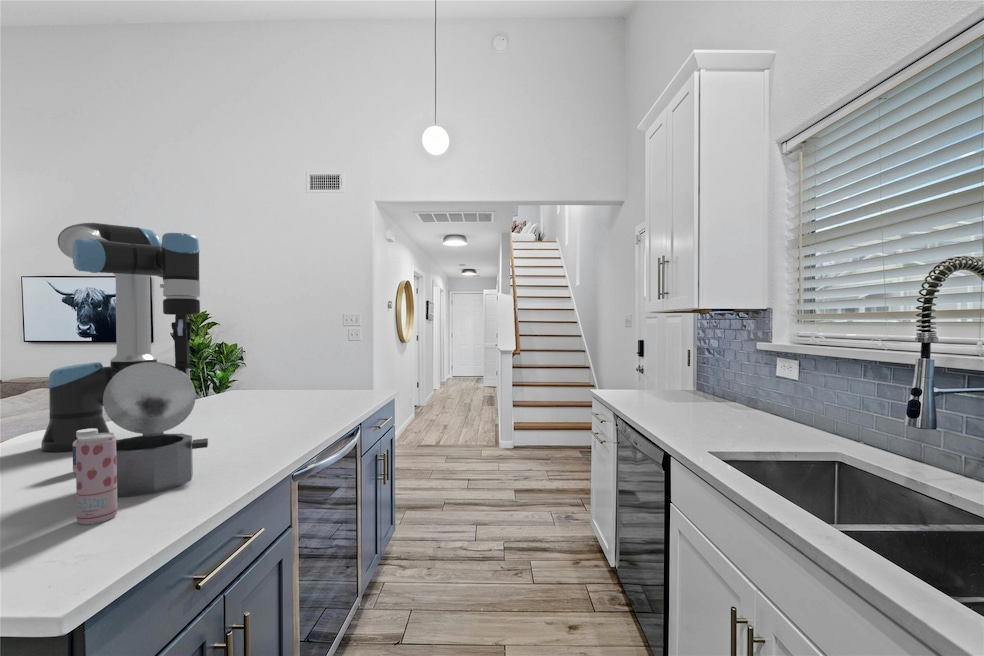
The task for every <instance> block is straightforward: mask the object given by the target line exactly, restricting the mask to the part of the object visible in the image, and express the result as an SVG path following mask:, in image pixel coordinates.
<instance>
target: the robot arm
mask: <svg viewBox="0 0 984 656" xmlns="http://www.w3.org/2000/svg"><path fill="white" fill-rule="evenodd" d="M199 243H200V242H199V238H198V237H197V236H196V235H194V234H190V233H184V232H166V233H164V234H163V235H162V237H161V240H160V238H159V236H158V234H157V233H156V232H155V231H154V230H151V229H148V228H147V229H146V228H141V227H135V226H125V225H117V224H108V223H100V222H83V223H82V222H81V223H76V224H73V225H69V226H67V227H65V228H64V229H63V230H61V232H60V233H59V234H58V237H57V246H58V248H59V250H60V251H61V252H62V253H63V255H65V256H67V258H69V259H72V264H73V267H74V269H75V270H77V271H79V272H86V273H91V274H92V273H93V274H97V273H101V274H103V273H104V274H113V275H114V277H115V321H116V322H115V323H116V324H115V326H116V327H115V328H116V329H115V333H116V334H115V335H116V338H115V339H116V341H115V342H116V354H115V356H113V358H111V359H110V365H109V366H104V365H103V364H102V362H98V361H96V362H86V363H77V364H73V365H68V366H63V367H58V368H55V369H52V370H51V372H50V373H49V377H48V385H47V388H48V391H49V392H48V393H49V398H48V400H49V404H48V405H49V406H48V407H49V408H48V409H49V422H48V424H47V428H46V429H45V431H44V432H45V433H44V435H43V437H42V440H41V451H42V452H49V453H51V452H52V453H54V452H55V453H56V452H58V453H59V452H73V442H74V441H75V440H77V439H78V438H77V437H76V431H79V430H83V429H98V433H111V432H110V429H109V427H108V425H107V423H106V421H105V419H104V415H103V410H104V405H103V395H104V391H105V388H106V387H107V385H108V383H109V381H110V380H111V379H112V378H113V377H114V376H115V375H116V374H117V373H118V372H120V371H121V370H123V369H125V368H126V367H129V366H131V365H134V364H138V363H143V362H158V358H157V357H156V356H155V355H153V353H152V336H151V335H152V330H151V329H152V325H151V322H152V321H151V320H152V319H151V277H152V276H154V277H155V276H156V277H158V278H162V283H160V285H159V288H160V289H162V296H163V297H164V298H163V300H162V313H163V315H171V316H172V315H173V316H174V315H175V318H174V319H175V321H173V322H171V329H172V340H173V342H174V360H175V361H174V362H175V363H174V367H176V368H178V369H180V370H181V371H183V372H184V373H185V374H186V375H187V376H188V377H189V378H190V379H191V375H190V374H191V373H190V370H191V369H193V367H194V366H193V364H192V365H191V360H190V359H191V358H190V356H191V355H190V353H191V351H190V345H191V344H190V343H191V342H190V341H191V339H192V329H193V322H191V321H189V315H191V316H192V315H193V316H194V315H197V316H198V315H200V313H201V300H200V299H198V298H199V297H201V282H200V251H201V249H200V244H199ZM165 297H166V298H165Z"/></svg>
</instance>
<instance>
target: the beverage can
mask: <svg viewBox="0 0 984 656" xmlns="http://www.w3.org/2000/svg"><path fill="white" fill-rule="evenodd" d="M116 440H117V438H116V434H115V433H113V432H110V433H95V434H89V435H84V436H80V437H78V439H77V443H76V473H75V481H76V482H75V484H76V485H75V487H76V490H75V492H76V495H75V496H76V497H75V499H76V522H77V523H78V524H80V525H84V526H85V525H95V524H99V523H104V522H106V521H109V520H111V519H113V518H115V516H116V515H118V512H119V511H118V497H117V459H116Z"/></svg>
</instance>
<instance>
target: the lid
mask: <svg viewBox="0 0 984 656" xmlns="http://www.w3.org/2000/svg"><path fill="white" fill-rule="evenodd" d="M196 397H197V396H196V388H195V384H194V383H193V381H192V380H191V377H190V378H189V377H188V376H187V375H186V374H185V373H184V372H183V371H181V370H180V369H178V368H176V367H175V365H171V364H168V363H166V362H161V361H160V362H159V361H157V362H143V363H138V364H134V365H131V366H129V367H126V368H125V369H123V370H121V371H120V372H118V373H117V374H116V375H115V376H114V377H113V378H112V379H111V380H110V381H109V383H108V385H107V387H106V388H105V391H104V395H103V405H104V406H103V410H105V413H106V415H107V417H108V418H109V419H110V420H111V422H113V423H114V424H115V425H116V426H118V427H120V428H122V429H123V430H126V431H128V432H132V433H135V434H142V436H144V435H155V434H165V433H164V432H167V431H169V430H172V429H174V428H175V427H177V426H179V425H181V424H182V423H183V422H185V420H186V419H188V417H189V416H190V415H191V413H192V411H193V410H194V406H195V403H196Z"/></svg>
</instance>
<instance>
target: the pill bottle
mask: <svg viewBox="0 0 984 656" xmlns="http://www.w3.org/2000/svg"><path fill="white" fill-rule="evenodd" d="M95 433H98V429H83V430H79V431H76V437H77V438H78V437H80V436H84V435H89V434H95ZM76 443H77V440H75V441H74V442H73V450H72V473H74V474H76Z"/></svg>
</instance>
